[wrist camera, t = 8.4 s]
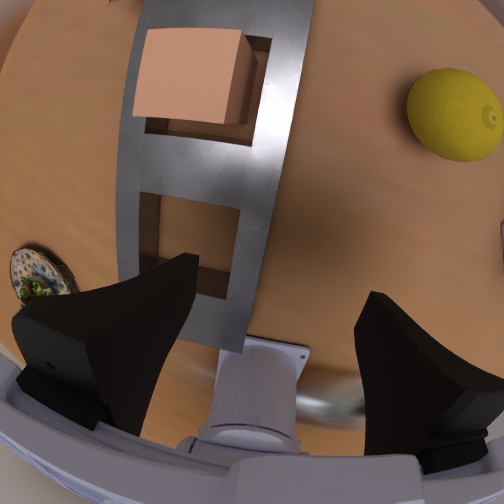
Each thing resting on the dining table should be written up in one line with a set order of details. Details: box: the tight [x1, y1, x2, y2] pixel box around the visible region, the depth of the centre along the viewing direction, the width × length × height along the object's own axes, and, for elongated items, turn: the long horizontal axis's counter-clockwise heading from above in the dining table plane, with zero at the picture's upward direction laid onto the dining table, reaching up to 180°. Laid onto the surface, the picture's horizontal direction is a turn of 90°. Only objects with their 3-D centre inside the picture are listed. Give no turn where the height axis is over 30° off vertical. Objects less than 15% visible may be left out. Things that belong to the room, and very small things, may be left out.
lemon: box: [407, 68, 504, 162], centre depth 12 cm, size 6×6×8 cm
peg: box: [132, 28, 258, 124], centre depth 13 cm, size 4×4×7 cm
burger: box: [10, 248, 79, 314], centre depth 23 cm, size 12×12×8 cm
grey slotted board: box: [116, 0, 314, 354], centre depth 17 cm, size 26×10×4 cm, turn 170°
